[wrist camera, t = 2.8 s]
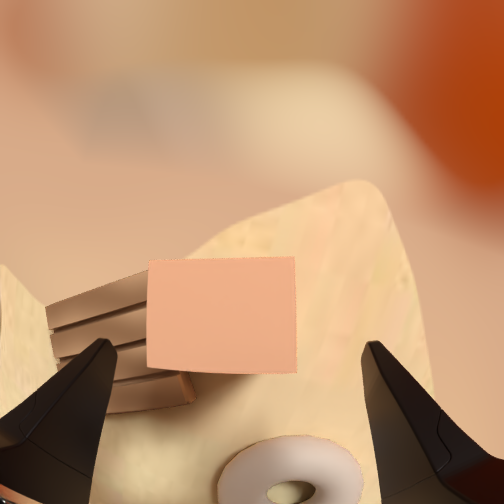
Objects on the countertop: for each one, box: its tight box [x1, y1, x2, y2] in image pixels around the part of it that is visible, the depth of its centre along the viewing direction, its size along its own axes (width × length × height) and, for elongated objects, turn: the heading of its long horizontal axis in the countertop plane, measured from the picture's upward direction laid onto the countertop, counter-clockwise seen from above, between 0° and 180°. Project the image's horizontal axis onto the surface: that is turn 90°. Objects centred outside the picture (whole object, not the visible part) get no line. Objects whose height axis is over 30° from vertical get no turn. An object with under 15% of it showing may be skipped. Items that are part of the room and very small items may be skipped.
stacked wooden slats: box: [45, 270, 197, 414], centre depth 17 cm, size 9×10×2 cm
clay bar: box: [146, 257, 297, 374], centre depth 12 cm, size 3×4×11 cm
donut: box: [217, 435, 364, 504], centre depth 13 cm, size 10×4×10 cm
